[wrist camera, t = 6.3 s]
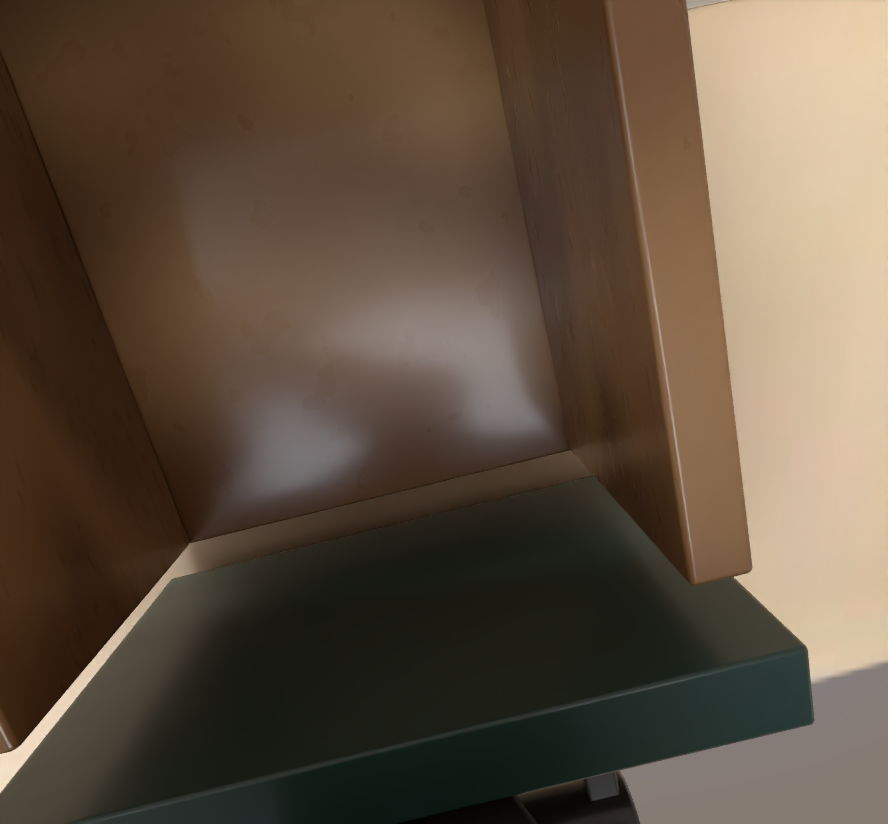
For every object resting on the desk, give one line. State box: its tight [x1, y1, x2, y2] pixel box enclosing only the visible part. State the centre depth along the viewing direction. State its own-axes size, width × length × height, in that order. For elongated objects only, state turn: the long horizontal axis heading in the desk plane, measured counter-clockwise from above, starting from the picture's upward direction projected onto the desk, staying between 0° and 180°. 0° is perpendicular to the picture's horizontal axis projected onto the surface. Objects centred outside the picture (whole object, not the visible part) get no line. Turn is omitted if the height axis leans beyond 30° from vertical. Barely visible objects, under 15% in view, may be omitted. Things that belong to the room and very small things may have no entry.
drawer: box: [0, 0, 814, 824], centre depth 9 cm, size 19×11×7 cm, turn 14°
